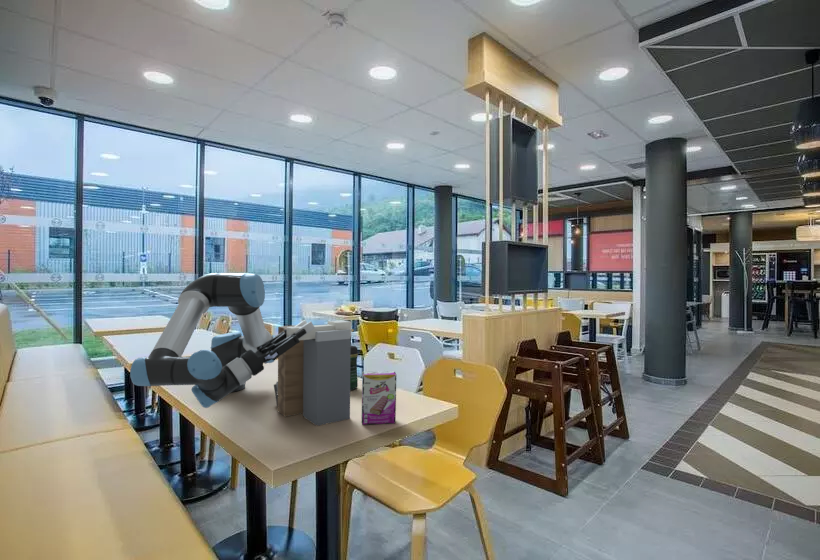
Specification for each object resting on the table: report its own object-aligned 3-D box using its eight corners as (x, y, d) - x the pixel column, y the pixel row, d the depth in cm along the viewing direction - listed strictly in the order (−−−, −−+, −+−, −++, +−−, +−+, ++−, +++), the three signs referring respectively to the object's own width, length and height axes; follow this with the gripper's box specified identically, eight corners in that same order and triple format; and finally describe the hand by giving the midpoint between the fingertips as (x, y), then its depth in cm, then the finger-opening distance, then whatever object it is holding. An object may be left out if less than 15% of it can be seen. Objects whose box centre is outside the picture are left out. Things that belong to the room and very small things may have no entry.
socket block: (303, 416, 146) (303, 328, 146) (334, 410, 153) (335, 326, 153) (316, 425, 137) (317, 332, 137) (349, 418, 144) (350, 329, 144)
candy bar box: (361, 425, 138) (362, 374, 138) (361, 420, 143) (361, 371, 143) (396, 424, 140) (396, 373, 139) (394, 418, 145) (394, 370, 144)
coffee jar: (360, 388, 183) (361, 345, 183) (345, 392, 177) (346, 347, 177) (347, 384, 190) (347, 342, 190) (332, 387, 184) (332, 344, 184)
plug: (285, 339, 139) (285, 323, 139) (346, 334, 153) (346, 320, 153) (292, 341, 134) (292, 325, 134) (355, 335, 148) (355, 321, 148)
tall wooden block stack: (277, 411, 151) (278, 326, 151) (309, 405, 159) (310, 324, 158) (284, 416, 146) (285, 328, 145) (317, 410, 153) (318, 326, 153)
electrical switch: (280, 408, 155) (279, 382, 156) (272, 406, 159) (271, 381, 159) (302, 402, 163) (300, 377, 163) (293, 401, 166) (292, 376, 166)
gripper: (244, 371, 137) (304, 330, 149) (261, 382, 123) (326, 336, 135) (232, 352, 135) (294, 312, 147) (248, 361, 121) (315, 316, 133)
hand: (309, 324), depth 141 cm, fingers closed on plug, 4 cm apart
